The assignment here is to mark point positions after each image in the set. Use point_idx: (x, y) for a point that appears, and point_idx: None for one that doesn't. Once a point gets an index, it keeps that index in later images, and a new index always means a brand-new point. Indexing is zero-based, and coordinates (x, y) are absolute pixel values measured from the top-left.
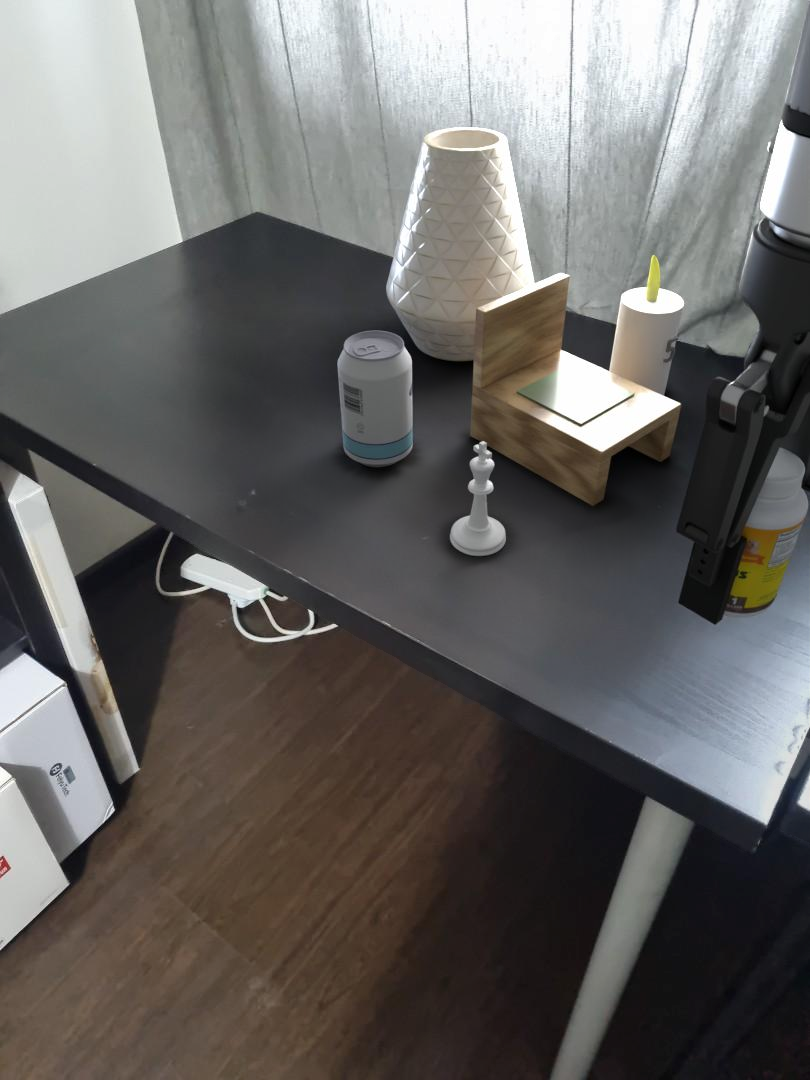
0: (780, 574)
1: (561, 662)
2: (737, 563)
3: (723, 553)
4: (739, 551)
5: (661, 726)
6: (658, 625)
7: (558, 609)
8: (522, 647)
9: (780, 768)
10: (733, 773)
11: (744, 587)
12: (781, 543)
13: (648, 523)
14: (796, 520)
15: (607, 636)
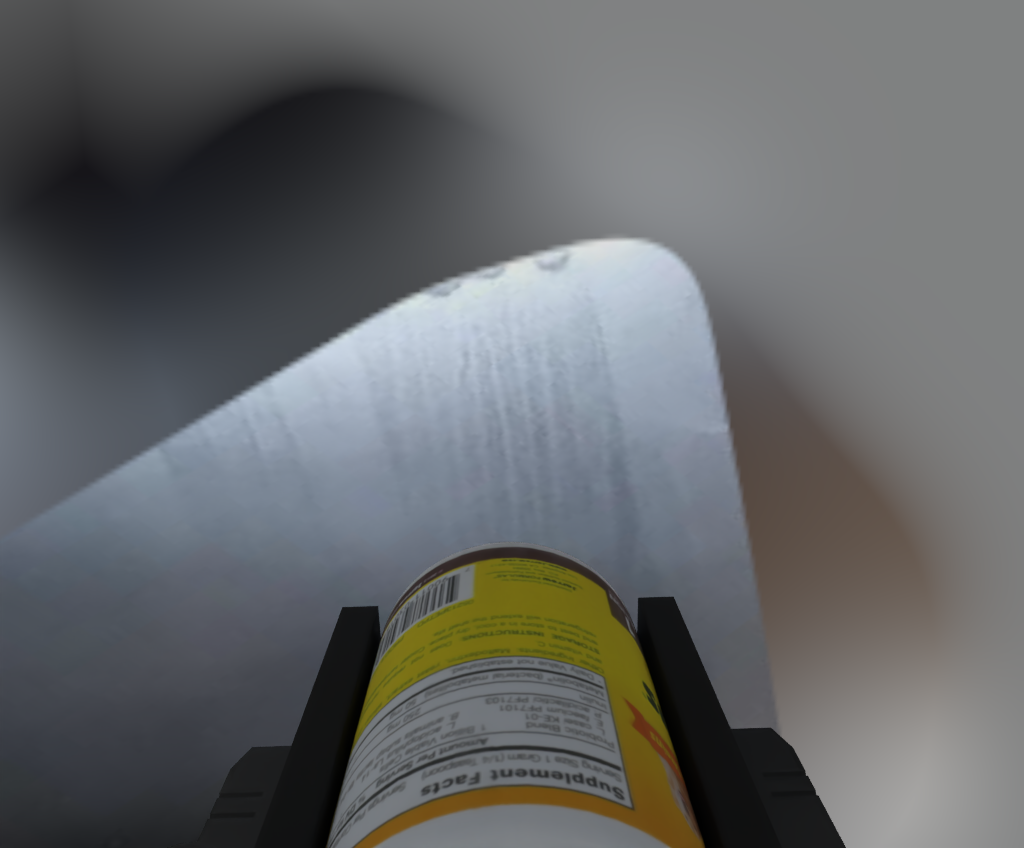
0: (519, 619)
1: None
2: (717, 760)
3: (781, 835)
4: (756, 815)
5: (644, 472)
6: None
7: None
8: None
9: (555, 257)
10: (638, 314)
11: (630, 651)
12: (595, 748)
13: (181, 824)
14: (564, 832)
15: None
